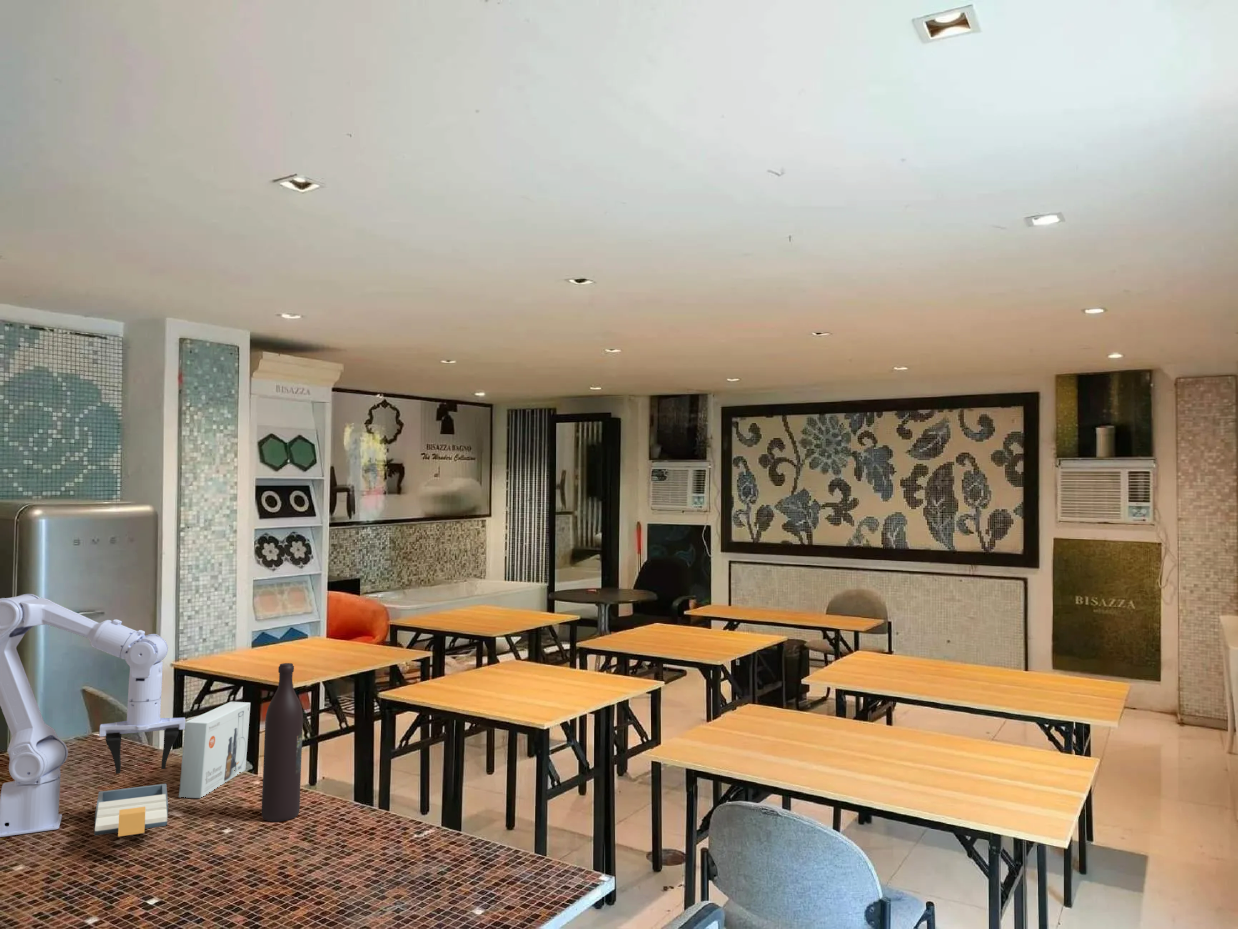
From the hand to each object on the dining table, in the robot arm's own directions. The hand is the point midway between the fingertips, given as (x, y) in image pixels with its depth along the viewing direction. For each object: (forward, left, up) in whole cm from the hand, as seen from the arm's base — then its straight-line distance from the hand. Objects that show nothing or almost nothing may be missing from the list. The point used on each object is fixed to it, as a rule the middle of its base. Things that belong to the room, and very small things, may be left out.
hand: (141, 769), depth 168 cm
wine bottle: (+25, -8, -10) cm, 28 cm away
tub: (-1, +3, -10) cm, 11 cm away
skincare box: (+15, +20, -10) cm, 27 cm away
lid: (-1, -10, -6) cm, 12 cm away
